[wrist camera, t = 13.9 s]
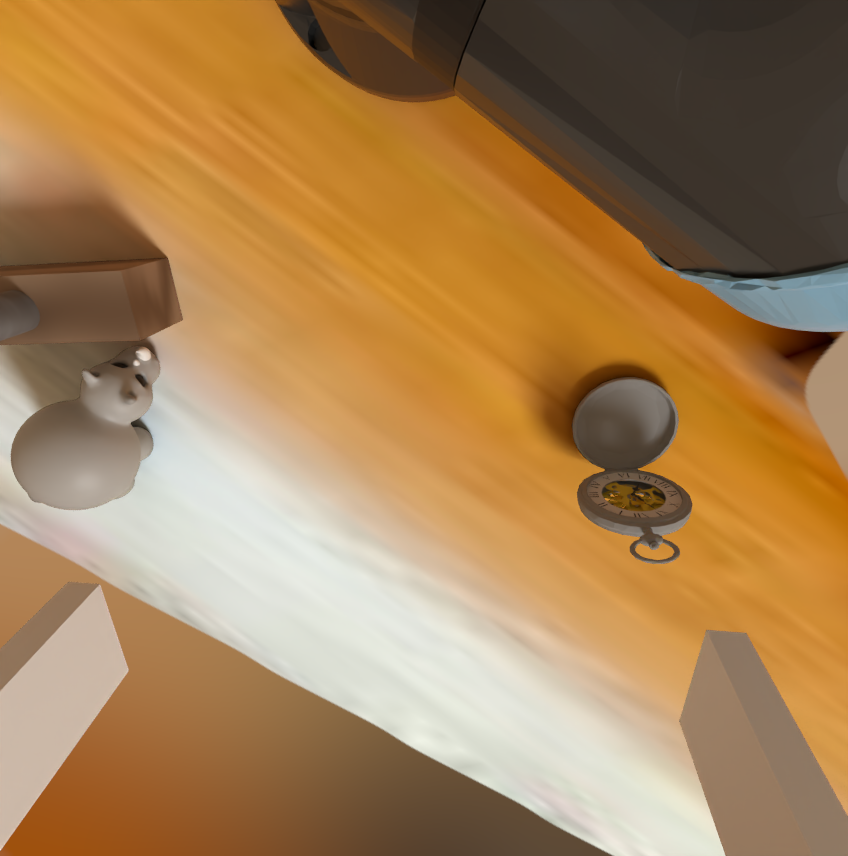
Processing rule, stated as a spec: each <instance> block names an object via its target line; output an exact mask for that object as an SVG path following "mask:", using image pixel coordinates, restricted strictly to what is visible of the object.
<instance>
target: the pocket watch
mask: <svg viewBox="0 0 848 856" xmlns="http://www.w3.org/2000/svg"><path fill="white" fill-rule="evenodd" d="M678 421H679V420H678V411H677V409H676V406H675V403H674V402H673V400H672V399H671V397H670V396H669V394H668V393H667V392H666V391H665V390H664V389H663V388H662V387H660V386H658V385H656V384H655V383H653V382H651V381H649V380H646V379H641V378H636V377H623V378H617V379H613V380H610V381H607V382H605V383H602V384H600V385H599V386H597V387H596V388H594V389H593V390H592V391H590V392H589V393H588V394H587V395H586V396H585V397H584V398H583V400H582V401H581V402H580V404H579V405H578V407H577V409H576V411H575V414H574V418H573V423H572V430H573V438H574V441H575V444H576V446H577V448H578V450H579V451H580V452H581V454H582V455H583V456H584V457H585V458H586V459H587V460H589V461H590V462H591V463H592V464H594V465H596V466H598V467H601V468H604V469H605V471H604V472H599V473H597V474H593V475H592V476H590V477H588V478H586V479H584V481H583V482H582V483H581V484H580V485H579V488H578V492H577V498H578V503H579V506H580V509H581V511H582V513H583V514H584V515H585V516H586V517H587V518H588V519H589V520H590V521H592V522H593V523H595V524H596V525H598V526H600V527H602V528H604V529H607V530H609V531H612V532H615V533H619V534H622V535H629V536H636V537H640V539H639V540H637V541H634V542H633V543H632V544H631V546H630V552H631V554H632V555H633V556H634V557H635V558H637V559H639V560H641V561H644V562H647V563H652V564H665V563H669V562H671V561H674V560H676V559H677V558H678V557H679V555H680V551H679V548H678V547H677V546H676V545H675V544H673V543H672V542H670V541H667V540H665V539H663V538H662V535H666V534H670V533H672V532H675V531H677V530H678V529H680V528H681V527H683V526H684V525H685V523H686V522H687V520H688V519H689V516H690V513H691V509H692V501H691V499H690V496H689V494H688V493H687V492H686V491H685V490H684V489H683V488H682V487H680V486H679V485H677V484H676V483H674V482H673V481H671V480H669V479H667V478H665V477H663V476H660V475H657V474H654V473H650V472H645V471H640V470H638V469H637V468H641V467H643V466H645V465H647V464H649V463H651V462H653V461H655V460H656V459H658V458H659V457H660V456H661V455H662V454H663V453H664V452H665V451H666V450H667V449H668V448H669V446H670V445H671V443H672V441H673V440H674V438H675V436H676V432H677V428H678ZM618 493H620V494H618ZM611 494H613V495H614V496H615V495H618V496H615V497H610V495H611ZM636 494H642V495H644V497H641V496H639V495H636ZM649 497H650V498H651V499H650V498H649ZM604 498H609V499H611V500H614V501H610V500H608V501H606V500H605V499H604ZM630 499H631V500H630ZM617 501H618V502H617ZM620 501H621V502H620ZM615 505H616V506H615ZM621 506H622V507H624V506H625V507H624V508H622V507H621ZM618 507H619V508H618ZM640 543H641V544H643V545H645V546H649V547H650V548H651V549H652V550H656V549H657V548H659V545H660V544H662V543H665V544H667V545H669V546H670V547H672V548H673V550H674V551H675V552H674V554H673V556H672V557H670V558H668V559H664V560H653V559H648V558H644V557H642V556H640V555H639V554H638V553H636V551H635V548H636V546H637V545H638V544H640Z"/></svg>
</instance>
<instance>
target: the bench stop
mask: <svg viewBox="0 0 848 856" xmlns="http://www.w3.org/2000/svg"><path fill="white" fill-rule="evenodd" d="M182 320H183V318H182V314H181V310H180V306H179V302H178V298H177V294H176V290H175V286H174V282H173V277H172V273H171V269H170V265H169V261H168V258H158V259H138V260H118V261H97V262H77V263H57V264H37V265H16V266H0V345H14V344H46V343H78V342H110V341H141V340H143V339H145V338H147V337H149V336H151V335H153V334H155V333H157V332H159V331H161V330H163V329H165V328H167V327H169V326H171V325H173V324H175V323H178V322H180V321H182Z"/></svg>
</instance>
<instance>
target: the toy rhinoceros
mask: <svg viewBox="0 0 848 856" xmlns="http://www.w3.org/2000/svg"><path fill="white" fill-rule="evenodd" d="M159 374H160V364H159V361H158V359H157V358H156V357H155V355H154V354H153V353H152V352H151V351H149V349H148V348H146V347H139V346H133V347H131V348H128V349H126V350H124V351H123V352H121V353H120V354H119V355H118V356H117V357H115V358H114V359H112V360H110V361H108V362H105V363H102V364H100V365H97V366H95V367H93V368H91V369H90V370H88V369H83V370H82V376H83V379H82V382H81V387H80V397H79V398H78V399H76V400H70V401H63V402H58V403H55V404H52V405H49V406H47V407H45V408H43V409H41V410H39V411H38V412H36V413H35V414H33V415H32V416H31V417H30V418H28V419H27V420H26V421H25V423H24V424H23V425H22V426H21V428H20V429H19V431H18V432H17V434H16V436H15V438H14V441H13V444H12V449H11V464H12V469H13V472H14V475H15V477H16V479H17V481H18V482H19V484H20V485H21V486H22V488H23V489H24V490H25V491H26V492H27V493H28V495H29V497H30V499H31V500H32V501H34V502H37V503H44V504H46V505H48V506H51V507H54V508H59V509H65V510H84V509H89V508H94V507H98V506H100V505H103V504H105V503H107V502H109V501H111V500H113V499H118V498H120V497H123V496H125V495H126V494H128V493H129V492H130V491H131V489H132V488H133V486H134V482H135V480H134V478H135V476H136V474H137V472H138V469H139V466H140V461H142V460H144V459H145V458H147V457H148V456H149V455H150V454H151V452H152V450H153V439H152V437H151V435H150V433H149V432H148V431H147V430H145V429H143V428H140V427H132V425H131V422H133V421H135V420H137V419H138V418H140V417H141V416H143V415H144V414H145V413H146V412H147V411H148V409H149V408H150V406H151V403H152V400H153V393H152V384H153V383H154V382H155V381H156V379H157V378H158V376H159Z"/></svg>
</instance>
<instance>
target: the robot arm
mask: <svg viewBox="0 0 848 856" xmlns="http://www.w3.org/2000/svg"><path fill="white" fill-rule="evenodd" d="M275 1H276V3H277V5H278V7H279V8H280V10H281V12H282V14H283V15H284V17H285V19H286V20H287V22H288V23H289V25H290V26H291V28H292V29H293V31H294V32H295V34H296V35H297V36H298V38H299V39H300V40H301V42H302V43H303V44H304V45H305V46H306V47H307V48H308V50H309V51H310V52H311V53H312V54H313V55H314V56H315V57H316V58H317V59H318V60H319V61H321V62H322V63H323V64H324V65H325V66H326V67H328V68H329V69H330V70H332V71H333V72H334V73H336V74H337V75H339V76H340V77H341V78H343V79H344V80H346V81H348V82H349V83H351V84H352V85H354V86H356V87H358V88H360V89H362V90H364V91H366V92H368V93H371V94H373V95H376V96H379V97H382V98H386V99H390V100H395V101H403V102H427V101H435V100H440V99H445V98H448V97H451V96H455V95H456V96H458V97H459V98H460V99H461V100H463V101H464V102H465V103H466V104H468V105H469V106H470V107H472V108H473V109H474V110H475V111H477V112H478V113H479V114H480V115H482V116H483V117H484V118H485V119H487V120H488V121H489V122H491V123H492V124H493V125H494V126H496V127H497V128H498V129H499V130H501V131H502V132H503V133H504V134H506V135H507V136H508V137H509V138H511V139H512V140H513V141H515V142H516V143H517V144H518V145H520V146H521V147H522V148H523V149H525V150H526V151H527V152H528V153H530V154H531V155H532V156H534V157H535V158H536V159H537V160H539V161H540V162H541V163H542V164H544V165H545V166H546V167H547V168H549V169H550V170H551V171H553V172H554V173H555V174H556V175H558V176H559V177H560V178H561V179H563V180H564V181H565V182H566V183H568V184H569V185H570V186H572V187H573V188H574V189H575V190H577V191H578V192H579V193H580V194H582V195H583V196H584V197H585V198H587V199H588V200H589V201H590V202H592V203H593V204H594V205H596V206H597V207H598V208H599V209H601V210H602V211H603V212H604V213H606V214H607V215H608V216H609V217H611V218H612V219H613V220H615V221H616V222H617V223H618V224H620V225H621V226H622V227H623V228H625V229H626V230H627V231H628V232H630V233H631V234H632V235H634V236H635V237H636V238H637V239H639V240H640V241H641V242H642V243H643V245H644V247H645V249H646V250H647V251H648V253H649V254H650V256H651V257H652V258H653V259H655V260H656V261H657V262H658V263H659V264H660V265H661V266H662V267H664V268H665V269H666V270H668V271H674V272H675V273H676V274H677V275H678V276H679V277H680V278H683V279H686V280H689V281H692V282H695V283H698V284H700V285H702V286H703V287H705V288H706V289H708V290H709V291H710V292H712V293H713V294H715V295H716V296H718V297H719V298H720V299H722V300H723V301H725V302H726V303H727V304H729V305H730V306H732V307H733V308H735V309H736V310H737V311H739V312H741V313H743V314H745V315H747V316H749V317H751V318H753V319H756V320H759V321H761V322H764V323H767V324H771V325H774V326H778V327H782V328H789V329H795V330H804V331H816V332H837V331H848V0H275ZM128 671H129V670H128V667H127V664H126V661H125V658H124V655H123V652H122V649H121V646H120V643H119V640H118V638H117V634H116V631H115V628H114V625H113V622H112V619H111V616H110V613H109V610H108V607H107V604H106V601H105V598H104V595H103V592H102V589H101V586H100V584H90V583H78V582H68V583H67V584H66V585H65V586H64V587H63V588H62V589H61V590H60V591H58V592H57V594H55V595H54V596H53V597H52V599H50V600H49V601H48V602H47V603H46V604H45V605H44V606H43V607H42V608H41V609H40V610H39V611H38V612H37V613H36V614H35V615H34V616H33V617H32V618H31V619H30V620H29V621H28V622H27V623H26V624H25V625H24V626H23V627H22V628H21V629H20V630H19V631H18V632H17V633H16V634H15V635H14V636H13V637H12V638H11V639H10V640H9V641H8V642H7V643H6V644H5V645H4V646H3V647H2V648H1V649H0V850H1V849H2V848H3V846H4V845H5V843H6V842H7V841H8V839H9V838H10V836H11V834H13V832H14V831H15V829H16V828H17V826H18V825H19V824H20V822H21V821H22V819H23V818H24V817H25V815H26V814H27V812H28V811H29V810H30V808H31V807H32V806H33V804H34V803H35V801H36V800H37V798H38V797H39V796H40V794H41V793H42V792H43V790H44V789H45V787H46V786H47V785H48V783H49V782H50V780H51V779H52V777H53V776H54V775H55V773H56V772H57V771H58V769H59V768H60V766H61V765H62V763H63V762H64V761H65V759H66V758H67V757H68V755H69V754H70V752H71V751H72V750H73V748H74V747H75V745H76V744H77V742H78V741H79V740H80V738H81V737H82V736H83V734H84V733H85V731H86V730H87V728H88V727H89V726H90V724H91V723H92V721H93V720H94V719H95V717H96V716H97V715H98V713H99V712H100V710H101V709H102V708H103V706H104V705H105V703H106V702H107V700H108V699H109V698H110V696H111V695H112V693H113V692H114V691H115V689H116V688H117V687H118V685H119V684H120V682H121V681H122V679H123V678H124V677H125V675H126V674H127V673H128ZM679 722H680V725H681V727H682V730H683V733H684V736H685V739H686V742H687V745H688V748H689V751H690V754H691V756H692V759H693V762H694V765H695V768H696V771H697V774H698V777H699V780H700V783H701V785H702V788H703V791H704V794H705V797H706V800H707V803H708V806H709V809H710V812H711V814H712V817H713V820H714V823H715V826H716V829H717V832H718V835H719V838H720V841H721V843H722V846H723V849H724V852H725V855H726V856H848V816H847V814H846V813H845V811H844V809H843V807H842V805H841V804H840V802H839V800H838V798H837V796H836V794H835V793H834V791H833V789H832V787H831V785H830V784H829V782H828V780H827V778H826V776H825V775H824V773H823V771H822V769H821V767H820V766H819V764H818V762H817V760H816V758H815V757H814V755H813V753H812V751H811V749H810V747H809V746H808V744H807V742H806V740H805V738H804V737H803V735H802V733H801V731H800V729H799V728H798V726H797V724H796V722H795V720H794V719H793V717H792V715H791V713H790V711H789V710H788V708H787V706H786V704H785V702H784V700H783V699H782V697H781V695H780V693H779V691H778V690H777V688H776V686H775V684H774V682H773V681H772V679H771V677H770V675H769V673H768V672H767V670H766V668H765V666H764V664H763V663H762V661H761V659H760V657H759V655H758V653H757V652H756V650H755V648H754V646H753V644H752V643H751V641H750V639H749V637H748V635H747V634H746V633H739V632H726V631H713V630H706V633H705V637H704V640H703V643H702V647H701V650H700V653H699V657H698V660H697V663H696V667H695V670H694V674H693V677H692V680H691V684H690V687H689V690H688V694H687V697H686V700H685V704H684V707H683V711H682V714H681V717H680V721H679Z"/></svg>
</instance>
